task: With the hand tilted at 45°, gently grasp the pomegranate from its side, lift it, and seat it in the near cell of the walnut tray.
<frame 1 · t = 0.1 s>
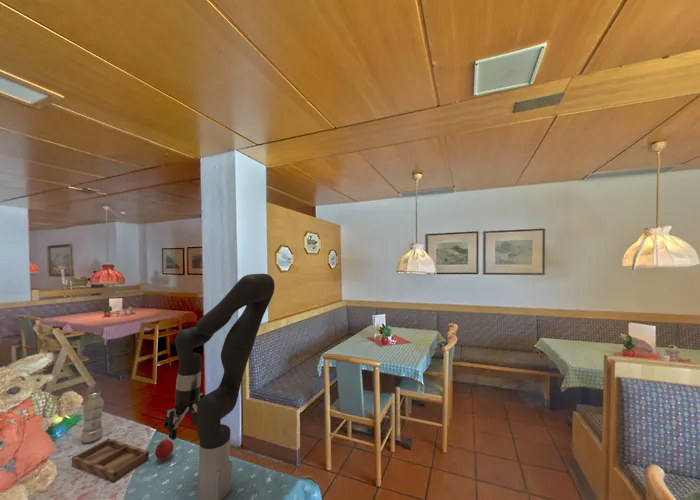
hand: (184, 431, 97), 17 cm above the table, tool pointing down, fingers open, 8 cm apart
walnut tray: (110, 462, 105), on the table
plastic bottle: (91, 440, 118), on the table
pomegranate: (164, 459, 107), on the table
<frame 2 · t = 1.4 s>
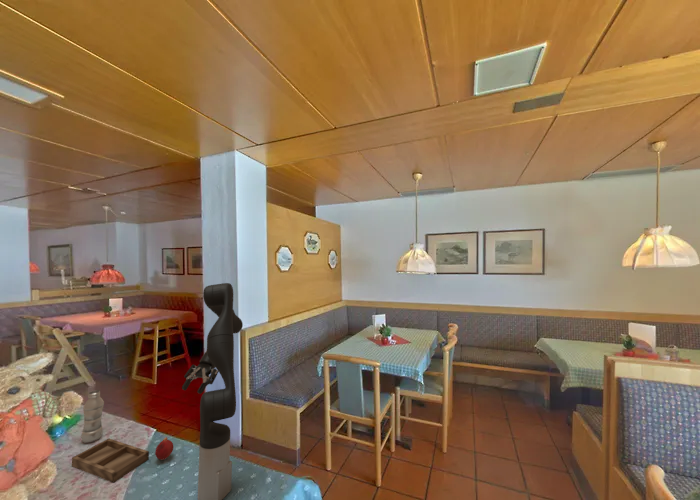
hand: (191, 391, 119), 21 cm above the table, tool tilted 45°, fingers open, 8 cm apart
nothing on the table moved.
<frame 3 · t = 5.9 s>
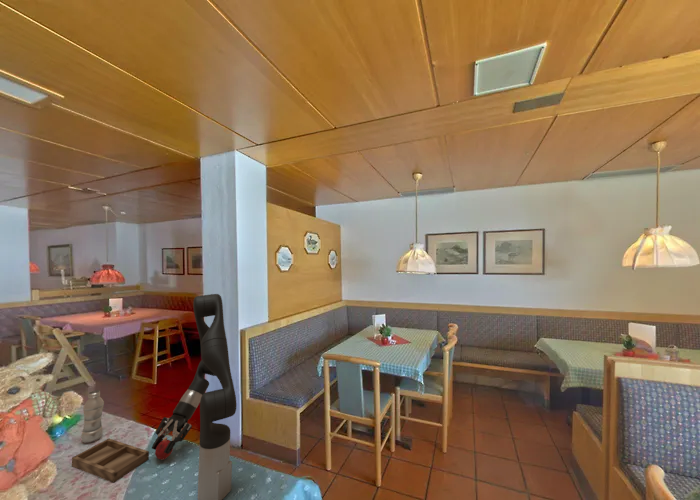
hand: (160, 450, 106), 4 cm above the table, tool tilted 45°, fingers closed on pomegranate, 5 cm apart
pomegranate: (164, 459, 107), on the table, touching gripper
everything else where it was.
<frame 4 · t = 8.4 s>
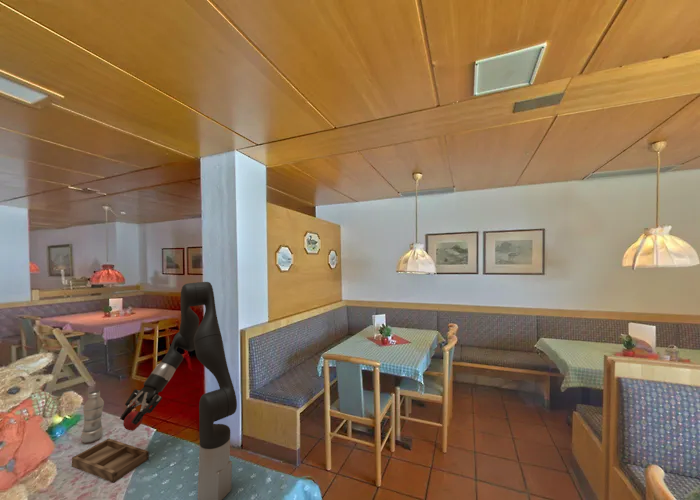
hand: (128, 421, 104), 16 cm above the table, tool tilted 45°, fingers closed on pomegranate, 5 cm apart
pomegranate: (132, 431, 106), point 12 cm above the table, touching gripper
everything else where it was.
when the fingers open (7 cm above the table, at t = 11.4 s): pomegranate drops 1 cm, resting on walnut tray.
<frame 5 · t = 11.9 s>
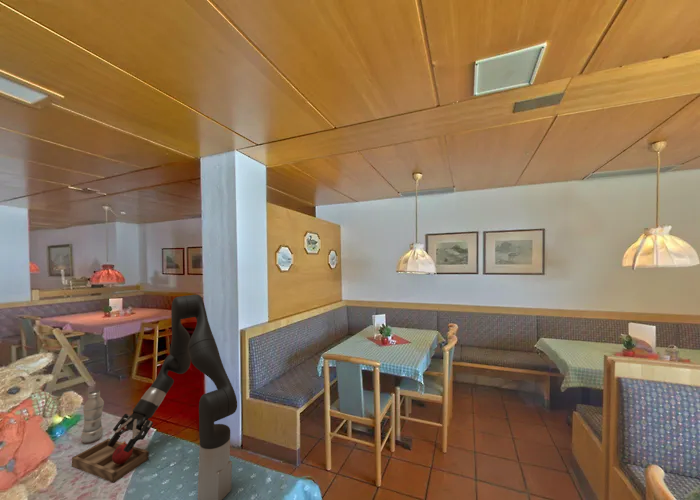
hand: (117, 448, 103), 7 cm above the table, tool tilted 45°, fingers open, 8 cm apart
pomegranate: (122, 464, 104), point 1 cm above the table, touching walnut tray
everything else where it was.
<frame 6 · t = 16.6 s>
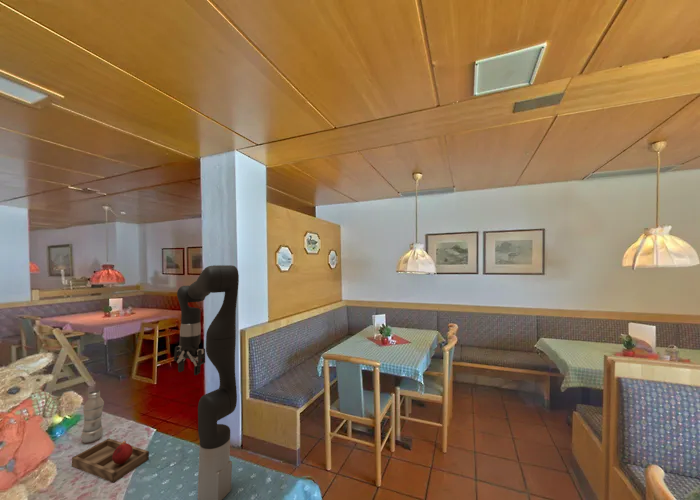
hand: (188, 373, 116), 30 cm above the table, tool pointing down, fingers open, 8 cm apart
nothing on the table moved.
at the end: pomegranate inside the target area on the walnut tray (0.4 cm from its centre), point 0.6 cm above the walnut tray's base; the gripper is holding nothing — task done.
